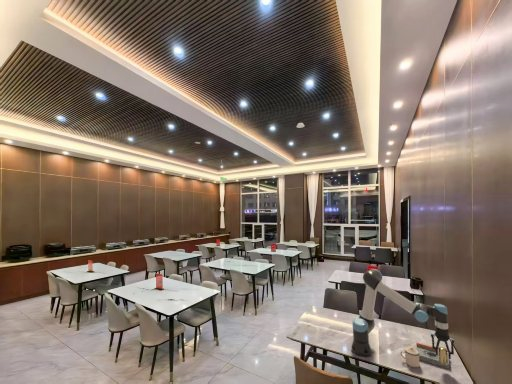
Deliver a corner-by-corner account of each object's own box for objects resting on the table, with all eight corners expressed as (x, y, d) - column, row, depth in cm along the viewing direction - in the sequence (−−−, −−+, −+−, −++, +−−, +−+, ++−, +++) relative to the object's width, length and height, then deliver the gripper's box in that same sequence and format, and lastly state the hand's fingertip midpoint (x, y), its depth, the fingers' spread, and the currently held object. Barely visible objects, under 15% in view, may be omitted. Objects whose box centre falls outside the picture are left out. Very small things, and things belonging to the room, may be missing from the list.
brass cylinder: (439, 363, 165) (438, 348, 166) (439, 360, 168) (438, 346, 169) (447, 366, 162) (447, 351, 163) (447, 363, 166) (446, 348, 166)
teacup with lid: (420, 362, 174) (418, 346, 175) (420, 369, 167) (419, 352, 168) (401, 357, 181) (400, 341, 182) (400, 363, 173) (399, 346, 175)
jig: (415, 358, 179) (415, 350, 180) (416, 349, 192) (416, 341, 192) (449, 369, 167) (448, 360, 168) (448, 358, 180) (447, 350, 180)
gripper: (426, 325, 170) (428, 359, 168) (458, 333, 159) (460, 369, 157) (426, 321, 176) (428, 354, 174) (457, 329, 165) (459, 364, 163)
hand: (443, 361), depth 165 cm, fingers closed on brass cylinder, 5 cm apart
